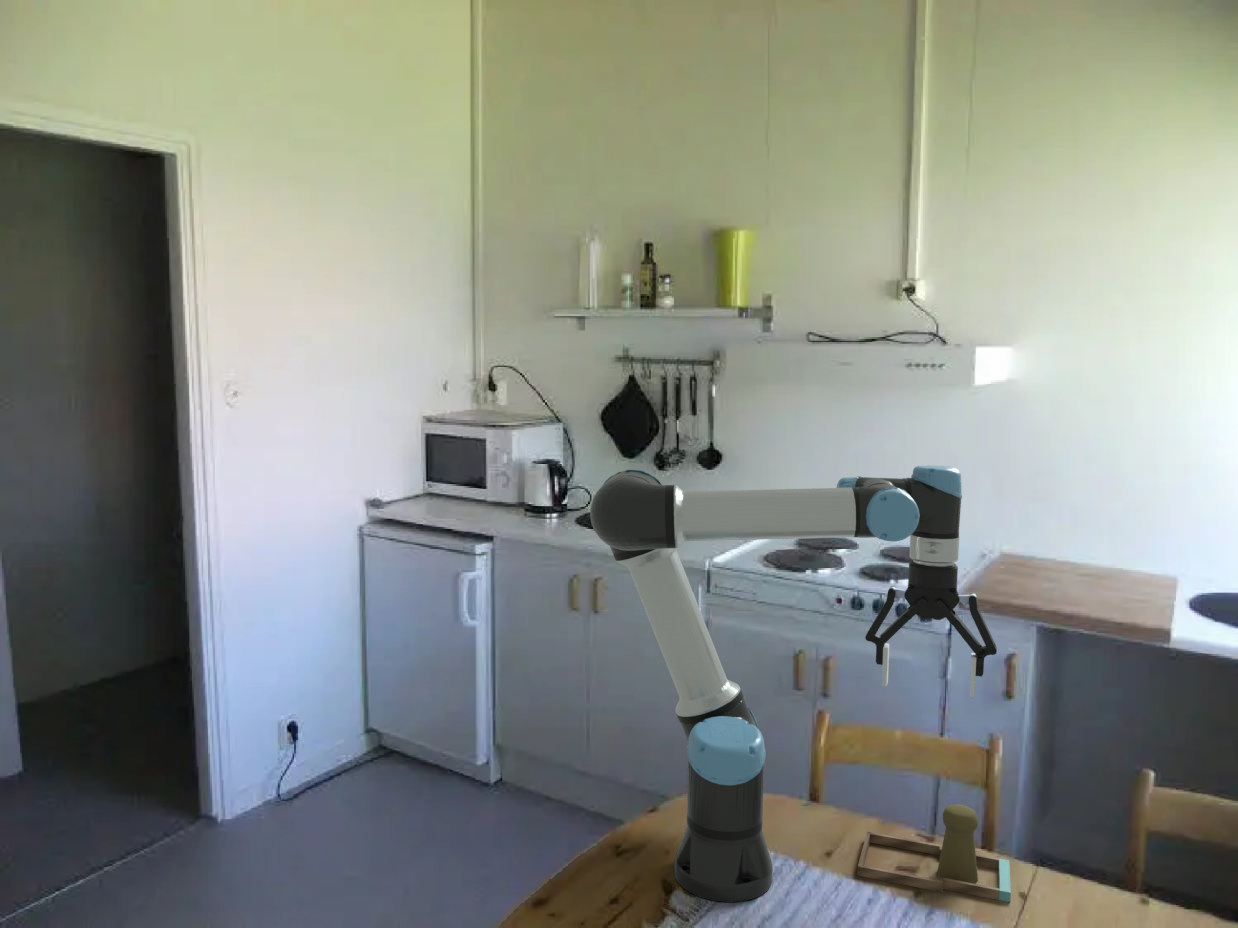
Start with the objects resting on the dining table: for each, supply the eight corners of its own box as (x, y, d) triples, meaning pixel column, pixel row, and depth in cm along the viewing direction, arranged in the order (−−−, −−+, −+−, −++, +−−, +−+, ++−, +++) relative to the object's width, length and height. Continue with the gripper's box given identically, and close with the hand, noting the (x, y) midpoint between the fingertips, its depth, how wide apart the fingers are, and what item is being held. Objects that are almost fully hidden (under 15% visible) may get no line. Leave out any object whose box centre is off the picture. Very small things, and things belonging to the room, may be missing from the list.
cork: (981, 888, 144) (984, 819, 143) (939, 883, 145) (943, 814, 144) (974, 868, 150) (977, 801, 149) (934, 863, 151) (937, 797, 150)
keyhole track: (857, 875, 147) (857, 866, 147) (866, 840, 159) (867, 831, 158) (1010, 905, 139) (1010, 896, 139) (1008, 866, 151) (1009, 857, 150)
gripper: (851, 559, 153) (847, 686, 155) (1017, 572, 145) (1010, 707, 146) (857, 551, 160) (853, 673, 162) (1016, 563, 151) (1009, 692, 153)
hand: (927, 689), depth 154 cm, fingers open, 13 cm apart
